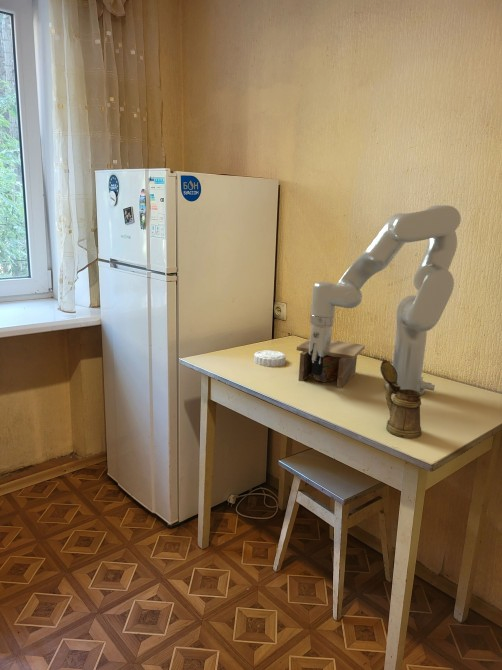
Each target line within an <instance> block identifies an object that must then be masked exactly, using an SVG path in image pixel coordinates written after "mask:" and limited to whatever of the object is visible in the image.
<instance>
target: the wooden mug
mask: <svg viewBox="0 0 502 670" xmlns="http://www.w3.org/2000/svg"><path fill="white" fill-rule="evenodd" d="M379 367H380V370H379V371H380V373H381V374H380V375H381V376H382V377H383V379H384V381H385V383H388V384H389V385H388V386H387V388H385V393H384V397H385V401H386V404H387V407H388V410H389V419H388V420H387V421H386V431H387V432H389V434H391V435H393V436H395V437H399V438H405V439H414V438H415V439H416V438H419V437H420V436H422V426H421V405H422V399H421V395H420V393H419V392H417V391H415V390H410V389H402V390H401V388H400V386H398V384H397V377H398V375H397V372H396V370H395V368H394V366H393V363H391V362H390V361H387V360H386V359H383V360H382V361H381V364H380V366H379ZM393 395H394V396H393ZM392 396H393V397H392Z"/></svg>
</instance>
